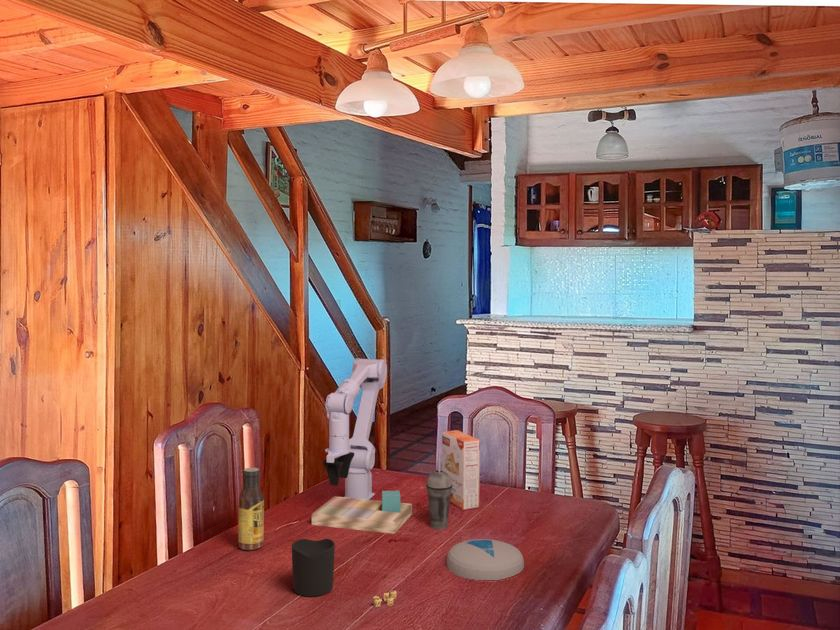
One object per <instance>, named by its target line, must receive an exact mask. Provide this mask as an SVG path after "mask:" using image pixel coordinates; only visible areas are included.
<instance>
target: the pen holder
mask: <svg viewBox="0 0 840 630" xmlns="http://www.w3.org/2000/svg"><path fill="white" fill-rule="evenodd" d="M335 546H336V543H335V541H334V540H332V539H330V538H322V539H319V540H313V539H309V538H308V539H307V538H299V539H297V540H295V541H293V542H292V544H291V563H292V569H291V570H292V586H293V591H294V592H295V593H296V594H297V595H298V596H301V597H309V598H310V597H311V598H312V597H313V598H314V597H320V596H325V595H327V594H329V593H330V592H331V591H332V590H333V587H334V578H335V576H334V574H335V553H336V552H335V551H336V550H335V548H336V547H335Z"/></svg>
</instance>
